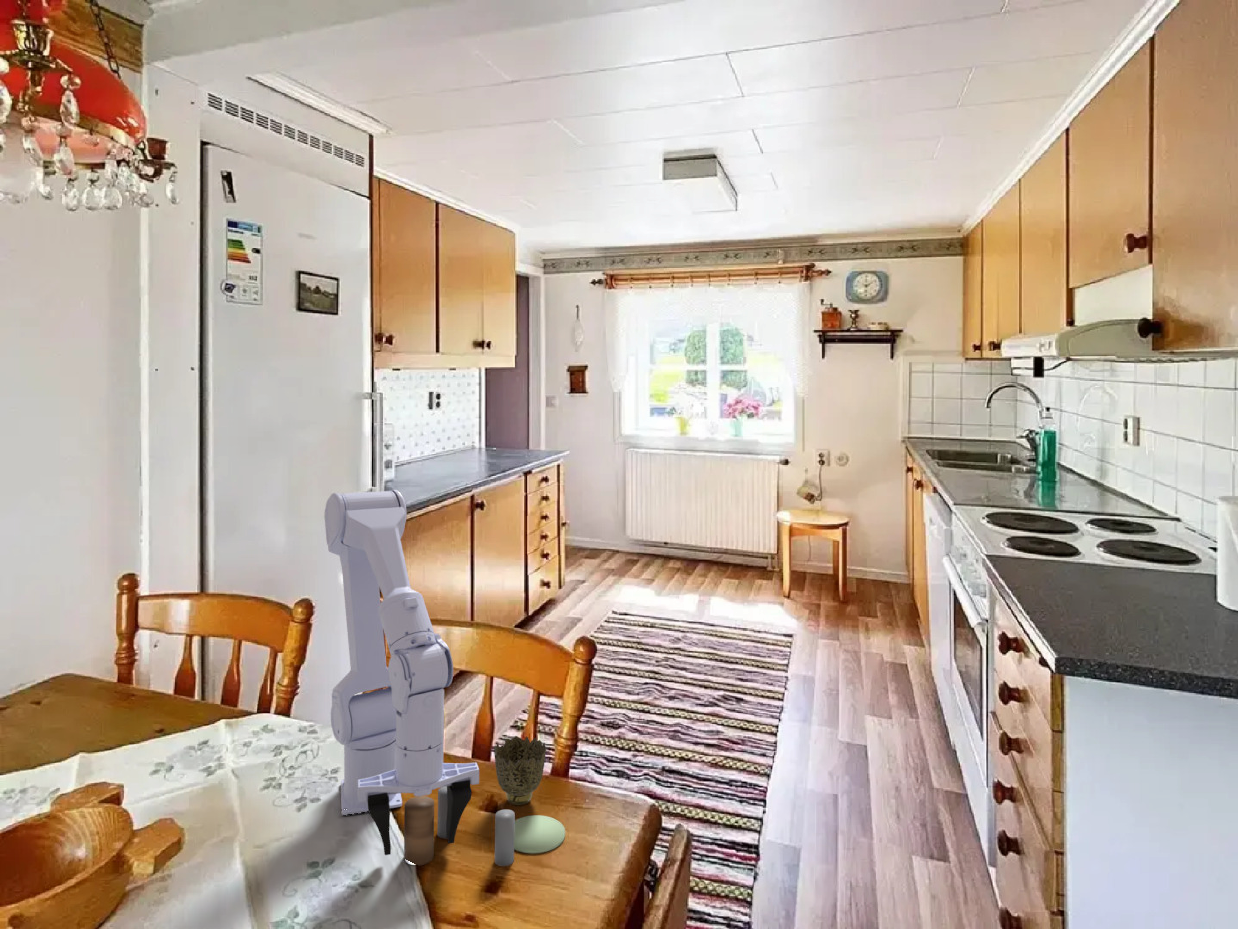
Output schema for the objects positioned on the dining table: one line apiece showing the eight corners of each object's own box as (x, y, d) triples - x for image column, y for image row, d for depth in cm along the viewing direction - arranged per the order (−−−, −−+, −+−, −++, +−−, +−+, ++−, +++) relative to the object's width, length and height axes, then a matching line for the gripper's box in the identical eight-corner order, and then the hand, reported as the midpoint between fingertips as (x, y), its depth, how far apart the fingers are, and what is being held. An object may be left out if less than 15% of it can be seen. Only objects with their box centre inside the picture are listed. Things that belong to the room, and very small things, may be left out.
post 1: (436, 830, 99) (437, 787, 99) (454, 826, 100) (455, 784, 100) (438, 840, 97) (439, 796, 97) (457, 837, 98) (458, 793, 97)
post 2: (492, 856, 94) (493, 811, 94) (511, 852, 95) (512, 808, 94) (496, 867, 92) (497, 821, 91) (515, 864, 93) (516, 818, 92)
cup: (520, 781, 112) (521, 730, 112) (555, 799, 108) (557, 746, 107) (482, 801, 107) (483, 747, 106) (517, 821, 102) (518, 765, 101)
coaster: (499, 824, 101) (499, 821, 101) (555, 814, 104) (555, 811, 104) (512, 858, 94) (512, 855, 94) (572, 846, 97) (572, 843, 97)
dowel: (402, 851, 95) (403, 798, 94) (431, 846, 96) (432, 794, 95) (405, 868, 91) (405, 814, 91) (435, 862, 93) (435, 809, 92)
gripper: (359, 764, 86) (359, 875, 87) (484, 746, 91) (482, 852, 92) (357, 737, 92) (357, 841, 94) (474, 722, 98) (472, 821, 99)
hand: (419, 844), depth 93 cm, fingers open, 7 cm apart
